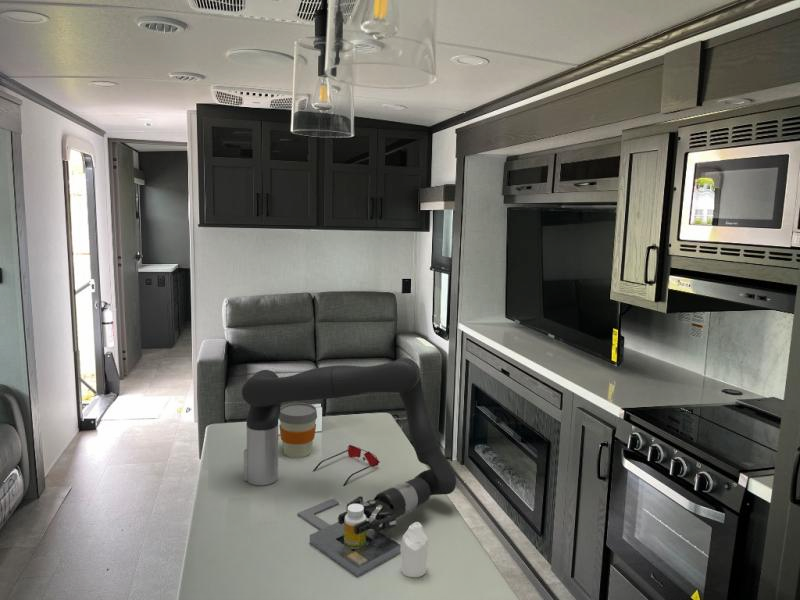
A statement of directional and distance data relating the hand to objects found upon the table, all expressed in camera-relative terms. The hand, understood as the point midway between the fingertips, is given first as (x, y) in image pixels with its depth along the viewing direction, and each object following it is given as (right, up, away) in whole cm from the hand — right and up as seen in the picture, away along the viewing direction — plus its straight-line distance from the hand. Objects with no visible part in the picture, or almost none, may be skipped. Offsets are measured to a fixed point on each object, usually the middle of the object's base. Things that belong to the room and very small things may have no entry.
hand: (347, 525), depth 146 cm
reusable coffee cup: (-22, +4, +56) cm, 60 cm away
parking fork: (-5, -4, +17) cm, 18 cm away
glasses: (-4, 0, +44) cm, 45 cm away
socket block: (+1, -7, +3) cm, 8 cm away
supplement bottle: (+2, -6, +3) cm, 7 cm away
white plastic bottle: (+16, -9, -5) cm, 19 cm away
